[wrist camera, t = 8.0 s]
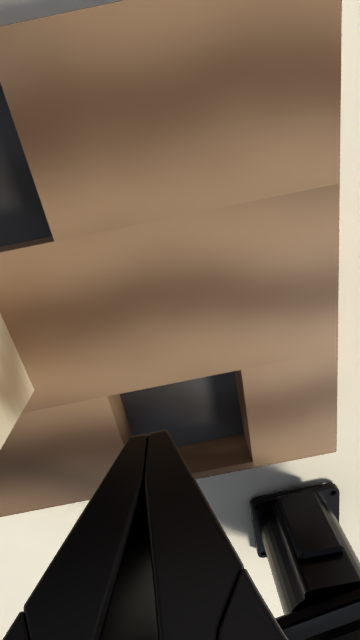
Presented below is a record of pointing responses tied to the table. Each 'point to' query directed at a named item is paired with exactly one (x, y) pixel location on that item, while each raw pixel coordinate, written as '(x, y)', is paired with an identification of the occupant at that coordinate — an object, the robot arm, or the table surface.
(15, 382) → the block
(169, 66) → the board
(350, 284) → the table surface
